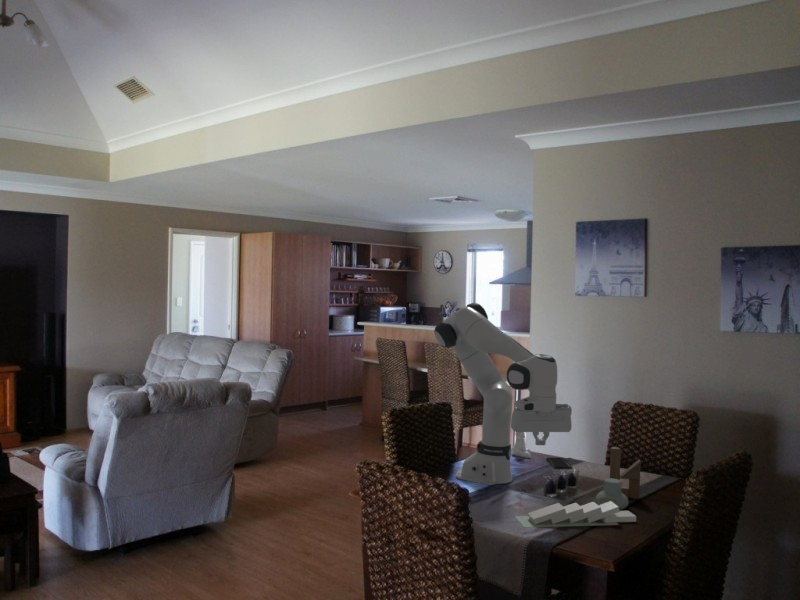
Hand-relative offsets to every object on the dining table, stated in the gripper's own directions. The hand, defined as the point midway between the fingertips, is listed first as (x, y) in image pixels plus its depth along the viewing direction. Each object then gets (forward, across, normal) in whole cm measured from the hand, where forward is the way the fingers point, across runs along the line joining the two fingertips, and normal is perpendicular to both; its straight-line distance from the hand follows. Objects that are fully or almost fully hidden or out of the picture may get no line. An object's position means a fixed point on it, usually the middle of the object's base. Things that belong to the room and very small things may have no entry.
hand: (540, 444), depth 227 cm
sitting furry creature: (+26, -23, -80) cm, 87 cm away
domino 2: (+23, -2, +5) cm, 24 cm away
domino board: (+25, -8, +5) cm, 27 cm away
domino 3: (+23, -8, +5) cm, 25 cm away
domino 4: (+23, -14, +6) cm, 28 cm away
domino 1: (+23, +4, +5) cm, 24 cm away
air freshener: (+25, -31, -7) cm, 40 cm away
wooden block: (+25, -42, -19) cm, 52 cm away
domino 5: (+23, -20, +6) cm, 31 cm away
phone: (+26, -35, -64) cm, 77 cm away
